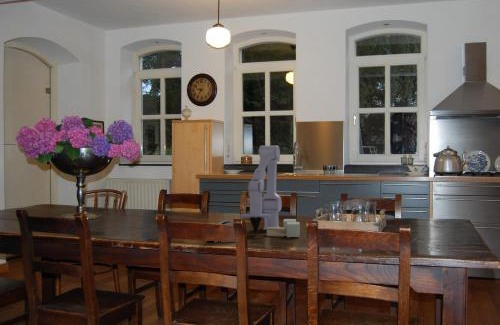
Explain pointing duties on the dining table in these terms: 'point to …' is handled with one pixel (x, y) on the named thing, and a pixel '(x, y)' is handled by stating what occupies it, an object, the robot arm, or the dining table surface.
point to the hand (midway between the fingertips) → (255, 233)
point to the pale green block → (288, 221)
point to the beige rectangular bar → (276, 231)
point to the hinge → (226, 223)
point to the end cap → (293, 229)
